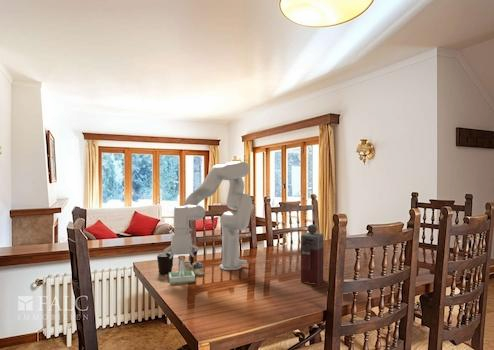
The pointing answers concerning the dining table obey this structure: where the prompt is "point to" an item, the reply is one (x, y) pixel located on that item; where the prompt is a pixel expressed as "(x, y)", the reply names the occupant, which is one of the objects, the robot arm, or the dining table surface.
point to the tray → (176, 279)
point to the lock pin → (181, 265)
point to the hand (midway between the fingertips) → (181, 265)
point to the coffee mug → (163, 264)
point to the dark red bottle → (312, 256)
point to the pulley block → (194, 267)
